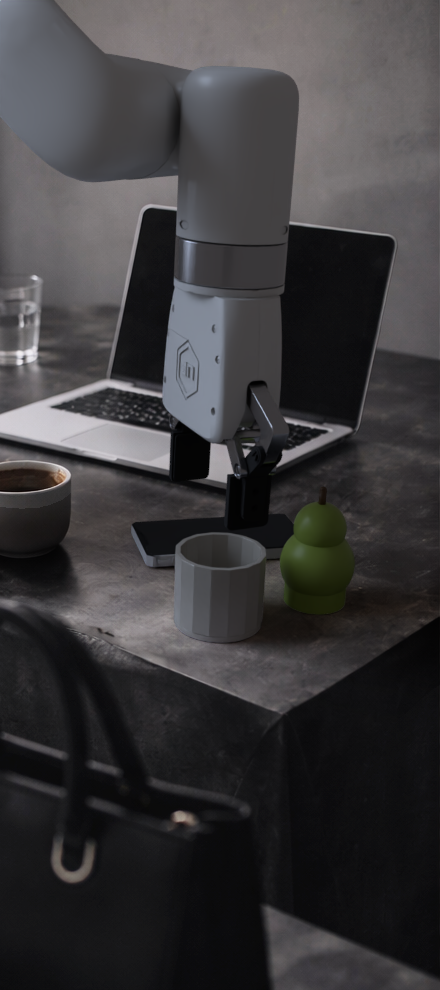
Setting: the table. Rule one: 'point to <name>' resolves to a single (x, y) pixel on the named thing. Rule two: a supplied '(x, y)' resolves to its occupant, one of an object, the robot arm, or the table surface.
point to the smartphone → (165, 534)
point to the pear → (317, 559)
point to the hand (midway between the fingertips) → (215, 501)
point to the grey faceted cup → (219, 587)
